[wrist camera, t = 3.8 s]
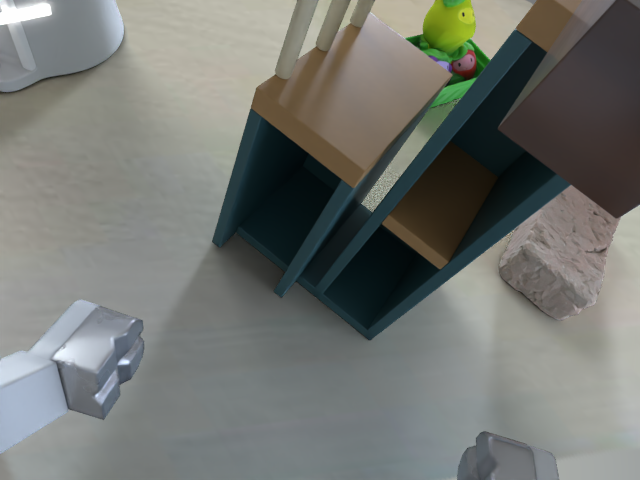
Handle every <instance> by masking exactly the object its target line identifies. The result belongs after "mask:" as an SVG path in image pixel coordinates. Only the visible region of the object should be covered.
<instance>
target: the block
mask: <svg viewBox="0 0 640 480" xmlns="http://www.w3.org/2000/svg"><path fill="white" fill-rule="evenodd" d="M498 130H499V131H500V132H502V133H503V134H504V135H506V136H507V137H508V138H510V139H511V140H512V141H514V142H515V143H516V144H518V145H519V146H520V147H522V148H523V149H524V150H526V151H527V152H528V153H530V154H531V155H532V156H534V157H535V158H536V159H538V160H539V161H540V162H542V163H543V164H544V165H545V166H547V167H548V168H549V169H551V170H552V171H553V172H555V173H556V174H557V175H559V176H560V177H561V178H563V179H564V180H565V181H567V182H568V183H569V184H571V185H572V186H573V187H575V188H576V189H577V190H579V191H580V192H581V193H583V194H584V195H585V196H587V197H588V198H589V199H591V200H592V201H593V202H595V203H596V204H597V205H599V206H600V207H601V208H602V209H604V210H605V211H606V212H608V213H609V214H610V215H612V216H613V217H614V218H616V219H618V218H620V217H621V216H623V215H624V214H626V213H628V212H629V211H631V210H632V209H634V208H635V207H637V206H639V205H640V0H582V1H581V3H580V4H579V6H578V7H577V9H576V10H575V12H574V13H573V15H572V16H571V18H570V19H569V21H568V22H567V24H566V25H565V27H564V28H563V30H562V31H561V33H560V34H559V36H558V37H557V39H556V40H555V42H554V43H553V45H552V46H551V48H550V49H549V51H548V52H547V54H546V56H545V57H544V59H543V60H542V62H541V63H540V65H539V66H538V68H537V69H536V71H535V72H534V74H533V75H532V77H531V78H530V80H529V81H528V83H527V84H526V86H525V87H524V89H523V90H522V92H521V93H520V95H519V96H518V98H517V99H516V101H515V102H514V104H513V105H512V107H511V109H510V110H509V112H508V113H507V115H506V116H505V118H504V119H503V121H502V122H501V124H500V125H499V127H498Z"/></svg>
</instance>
